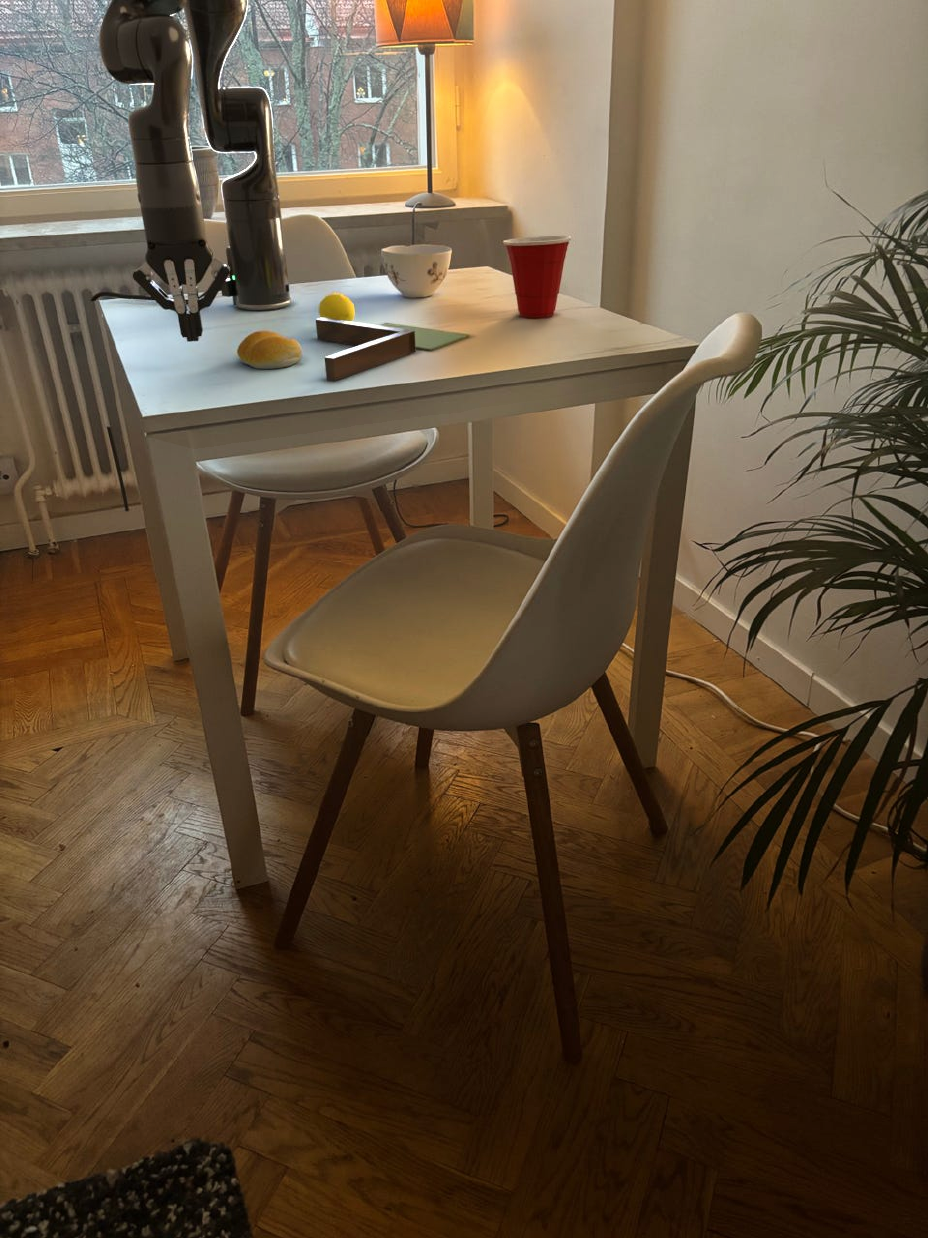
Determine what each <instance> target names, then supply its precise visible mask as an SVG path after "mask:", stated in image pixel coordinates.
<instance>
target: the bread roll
mask: <svg viewBox="0 0 928 1238" xmlns="http://www.w3.org/2000/svg"><path fill="white" fill-rule="evenodd" d="M236 351H237V352H236V354H237V356H238V358H239V359H240V361H241V362H242V363H244V364H246V365H249V366H251V367H252V368H253V369H258V370H269V369H272V370H273V369H282V368H287V367H290V366H293V365H296V363H298V362H299V361H300V360H301V359H302V358H303V357H302V356H303V354H302V352H303V350H302V347H301V345H300V344H299V342H298V341H297V340H296V339H293V338H290V337H284V336H283V335H282V334H279V333H277V332H275V331H272V330H271V331H270V330H258V331H254V332H252V333H250V334H248V335H247V336H246V337H244V339H243V340H241V342H240V343H239V345H238V346H237V349H236Z"/></svg>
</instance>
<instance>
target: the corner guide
mask: <svg viewBox="0 0 928 1238" xmlns="http://www.w3.org/2000/svg"><path fill="white" fill-rule="evenodd" d="M378 325H379V324H378ZM378 325H377V324H371V323H364V322H357V321H352V322H350V321H343V320H336V319H329V318H321V317H319V318H315V328H316V329H315V330H316V338H317V339H316V340H318V341H325V342H330V343H337V344H343V345H349V346H354V347H351V348H347V349H344V350H342V351H339V352H335V353H333V354H329V355H327V356H324V368H325V377H326V381H331V382H337V381H340V380H343V379H346V378H349V377H351V376H354V375H357V374H359V373H362V372H365V371H367V370H371V369H373V368H376V367H378V366H381V365H383V364H387V363H389V362H392V361H394V360H398V359H400V358H403V357H406V356H409V355H411V354H414V353H416V350H417V349H415V331H413V330H406V329H399V328H392V327H385V326H378Z"/></svg>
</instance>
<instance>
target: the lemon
mask: <svg viewBox="0 0 928 1238" xmlns="http://www.w3.org/2000/svg"><path fill="white" fill-rule="evenodd" d="M355 313H356V310H355V305H354V303H353V301H351V299H350V298H349V297H348V296H346V295H344V294H343V293H340V292H339V293H338V292H331V293H329V294H325V296H324V297H323V298H322V299H321V300H320V302H319V305H318V315H319V316H320V317H319V318H329V319H336V320H343V321H350V322H354V321H353V320H354V319H355V315H356V314H355Z"/></svg>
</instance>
